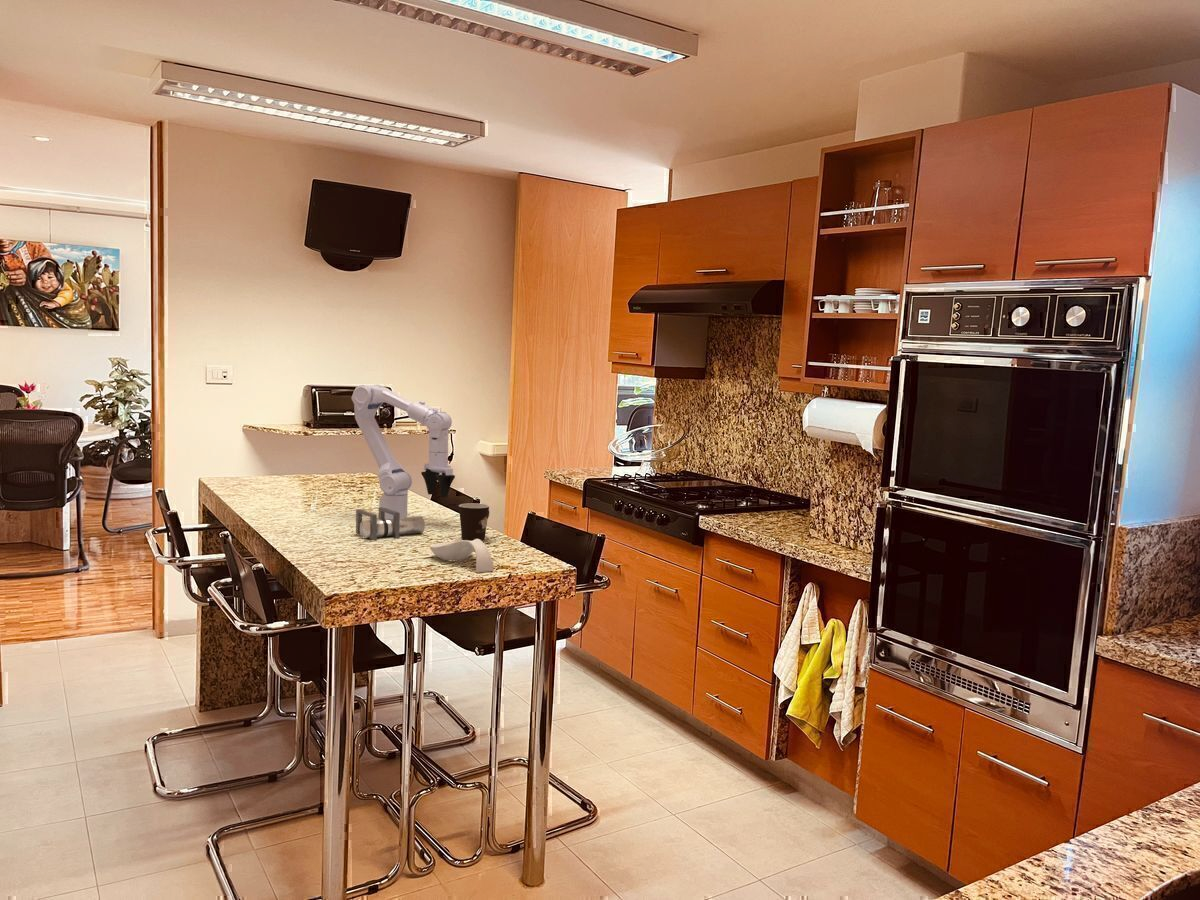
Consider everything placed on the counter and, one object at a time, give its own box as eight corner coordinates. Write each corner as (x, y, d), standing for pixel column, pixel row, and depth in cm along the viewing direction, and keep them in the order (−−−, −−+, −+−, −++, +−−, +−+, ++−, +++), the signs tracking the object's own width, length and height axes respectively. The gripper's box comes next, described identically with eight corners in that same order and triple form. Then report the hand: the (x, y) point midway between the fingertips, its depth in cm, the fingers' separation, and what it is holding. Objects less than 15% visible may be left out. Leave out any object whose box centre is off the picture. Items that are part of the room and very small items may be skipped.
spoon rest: (421, 557, 234) (422, 529, 234) (462, 552, 241) (462, 526, 241) (465, 576, 215) (465, 546, 215) (507, 570, 222) (508, 542, 222)
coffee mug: (468, 544, 251) (468, 509, 250) (452, 539, 258) (453, 504, 257) (503, 540, 258) (503, 506, 257) (486, 535, 265) (487, 501, 264)
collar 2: (378, 532, 264) (378, 507, 263) (382, 531, 264) (382, 507, 264) (395, 538, 255) (395, 513, 255) (399, 538, 256) (399, 512, 255)
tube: (364, 542, 253) (368, 529, 251) (358, 530, 256) (362, 517, 254) (421, 536, 264) (426, 524, 262) (415, 524, 267) (419, 512, 265)
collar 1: (355, 534, 259) (356, 509, 259) (359, 533, 260) (360, 508, 259) (372, 540, 251) (372, 515, 250) (376, 540, 252) (376, 514, 251)
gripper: (461, 453, 271) (460, 498, 273) (438, 449, 282) (437, 491, 284) (441, 454, 267) (440, 499, 268) (418, 449, 278) (417, 493, 279)
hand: (437, 495), depth 276 cm, fingers open, 7 cm apart
